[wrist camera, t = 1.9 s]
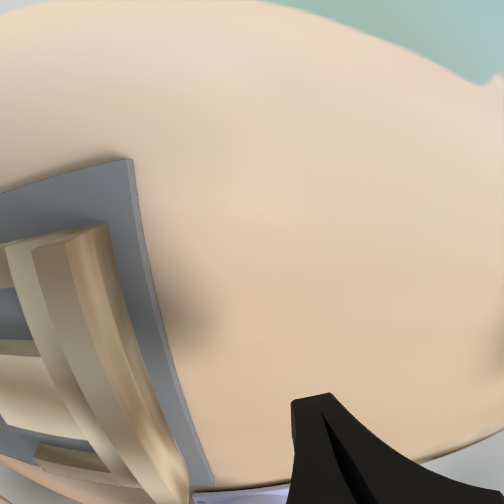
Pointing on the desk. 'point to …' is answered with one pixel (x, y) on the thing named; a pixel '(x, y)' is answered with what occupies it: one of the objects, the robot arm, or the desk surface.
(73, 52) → the desk surface
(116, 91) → the desk surface
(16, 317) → the keyhole board
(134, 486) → the panel
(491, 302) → the desk surface
